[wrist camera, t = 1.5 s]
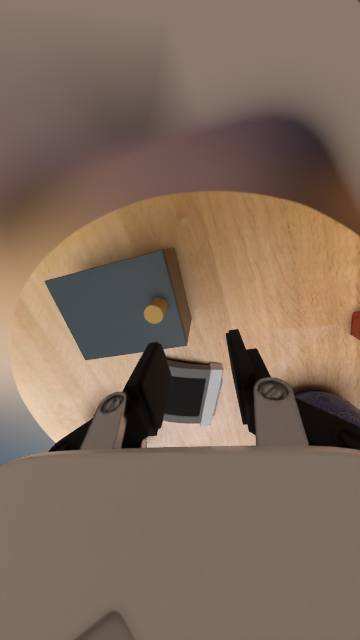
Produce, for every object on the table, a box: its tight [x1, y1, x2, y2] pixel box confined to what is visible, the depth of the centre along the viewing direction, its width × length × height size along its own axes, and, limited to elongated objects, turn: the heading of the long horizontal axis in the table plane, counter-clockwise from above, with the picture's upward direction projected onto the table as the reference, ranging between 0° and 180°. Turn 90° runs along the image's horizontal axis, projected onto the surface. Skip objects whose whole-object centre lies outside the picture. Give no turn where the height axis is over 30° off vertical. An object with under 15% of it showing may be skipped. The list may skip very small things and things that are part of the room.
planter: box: [294, 391, 360, 427], centre depth 34 cm, size 17×17×15 cm
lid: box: [45, 250, 187, 360], centre depth 25 cm, size 14×18×4 cm
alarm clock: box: [163, 360, 223, 425], centre depth 41 cm, size 17×5×16 cm
